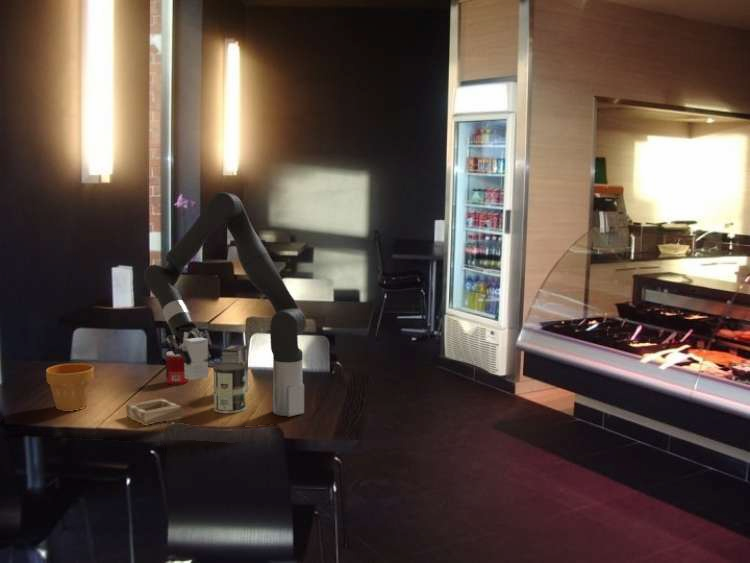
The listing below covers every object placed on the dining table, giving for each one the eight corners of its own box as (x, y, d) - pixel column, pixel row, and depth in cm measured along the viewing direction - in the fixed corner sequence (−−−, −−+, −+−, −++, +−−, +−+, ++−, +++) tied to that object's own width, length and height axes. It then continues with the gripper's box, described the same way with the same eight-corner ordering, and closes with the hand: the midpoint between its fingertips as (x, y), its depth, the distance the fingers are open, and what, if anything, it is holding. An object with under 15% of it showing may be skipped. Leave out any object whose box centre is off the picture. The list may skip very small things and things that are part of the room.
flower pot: (68, 417, 249) (67, 375, 247) (37, 409, 255) (36, 369, 254) (104, 406, 261) (103, 366, 259) (73, 399, 268) (72, 361, 266)
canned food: (193, 382, 292) (192, 352, 291) (174, 386, 286) (173, 356, 285) (181, 378, 297) (180, 349, 296) (162, 382, 292) (161, 352, 290)
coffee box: (231, 388, 284) (231, 344, 282) (248, 390, 283) (248, 345, 281) (221, 395, 275) (220, 349, 273) (239, 397, 274) (238, 350, 272)
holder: (181, 418, 249) (180, 406, 249) (145, 425, 241) (145, 413, 241) (161, 409, 258) (161, 398, 258) (126, 416, 250) (126, 404, 249)
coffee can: (243, 403, 267) (243, 361, 265) (247, 412, 257) (247, 369, 255) (212, 405, 264) (211, 363, 262) (215, 414, 254) (214, 370, 252)
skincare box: (191, 380, 245) (191, 341, 243) (183, 377, 248) (183, 339, 246) (209, 377, 249) (208, 338, 247) (201, 374, 252) (200, 336, 250)
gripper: (162, 313, 246) (182, 358, 239) (203, 308, 256) (224, 351, 249) (153, 327, 251) (173, 372, 244) (194, 322, 261) (214, 365, 254)
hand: (199, 361), depth 246 cm, fingers closed on skincare box, 6 cm apart
